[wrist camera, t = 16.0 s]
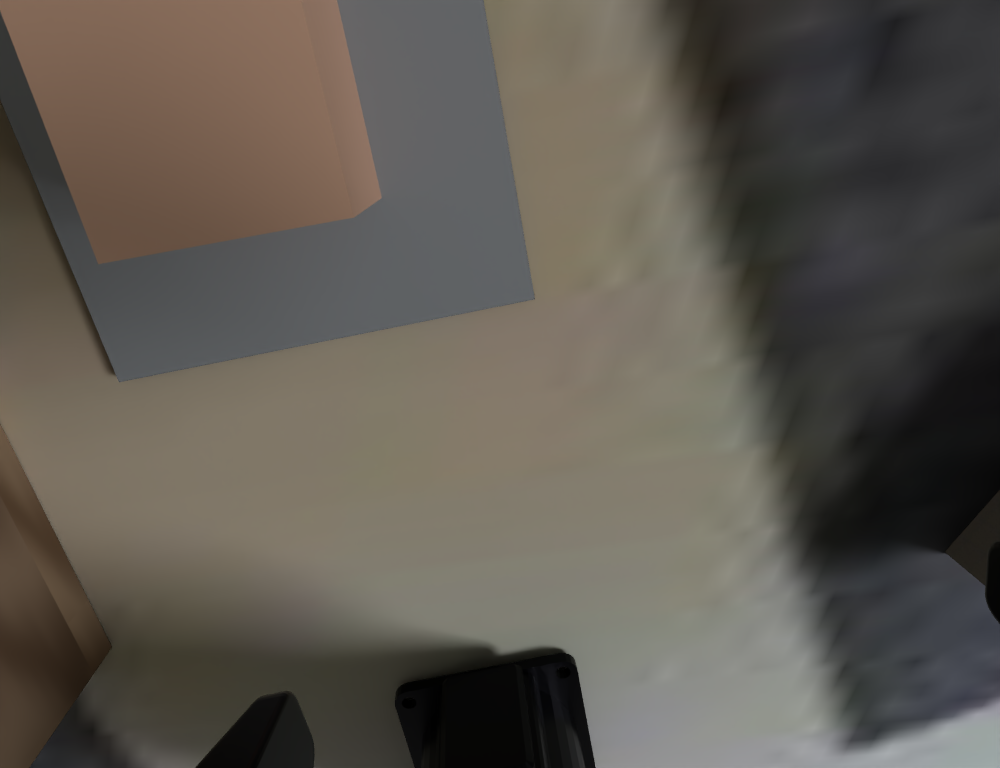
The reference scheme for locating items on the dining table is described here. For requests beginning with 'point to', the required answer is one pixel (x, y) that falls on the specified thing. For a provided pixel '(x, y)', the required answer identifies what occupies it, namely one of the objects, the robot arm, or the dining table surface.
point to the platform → (978, 540)
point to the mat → (333, 245)
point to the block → (196, 116)
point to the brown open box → (38, 622)
